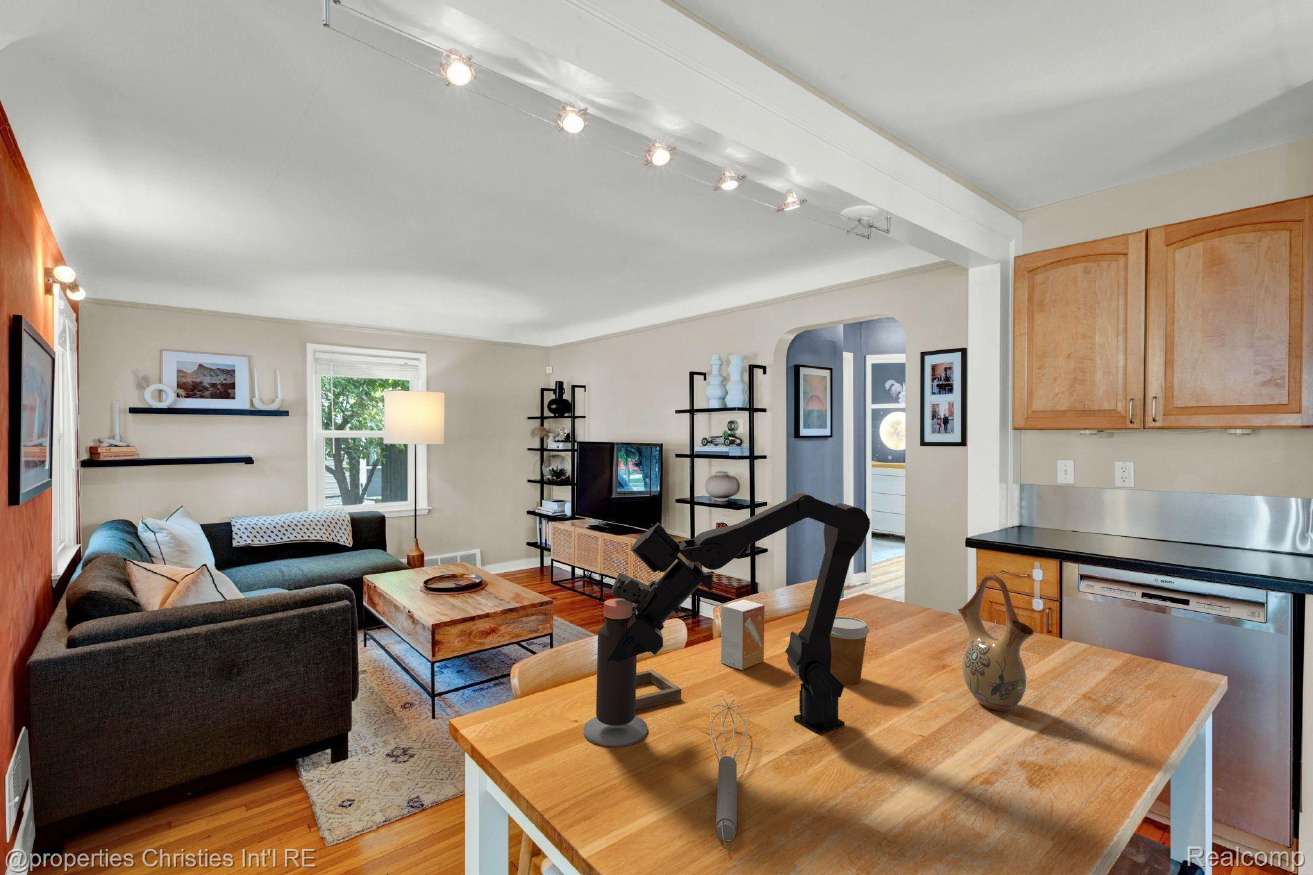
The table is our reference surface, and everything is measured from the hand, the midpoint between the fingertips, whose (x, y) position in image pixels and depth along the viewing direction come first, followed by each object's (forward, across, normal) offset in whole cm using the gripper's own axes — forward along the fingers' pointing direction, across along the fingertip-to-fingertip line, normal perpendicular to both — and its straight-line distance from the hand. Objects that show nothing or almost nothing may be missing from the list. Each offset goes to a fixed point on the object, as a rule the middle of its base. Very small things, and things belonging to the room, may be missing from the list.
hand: (608, 655), depth 108 cm
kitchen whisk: (-3, +15, +23) cm, 28 cm away
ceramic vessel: (-41, -5, +62) cm, 74 cm away
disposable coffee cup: (-25, -19, +45) cm, 55 cm away
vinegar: (+7, 0, +8) cm, 11 cm away
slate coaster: (+8, 0, +10) cm, 13 cm away
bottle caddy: (+5, -15, +14) cm, 21 cm away
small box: (-12, -30, +31) cm, 45 cm away
